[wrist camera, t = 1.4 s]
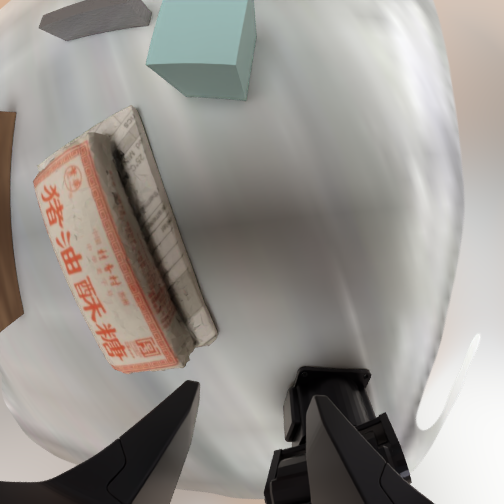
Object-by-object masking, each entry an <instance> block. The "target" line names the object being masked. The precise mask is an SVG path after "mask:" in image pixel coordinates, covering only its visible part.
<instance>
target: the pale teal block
mask: <svg viewBox="0 0 504 504" xmlns="http://www.w3.org/2000/svg"><path fill="white" fill-rule="evenodd" d="M255 42H256V23H255V10H254V0H163V2H162V5H161V8H160V11H159V14H158V18H157V21H156V25H155V28H154V32H153V36H152V40H151V44H150V48H149V52H148V56H147V61H146V65H147V66H148V67H149V68H151V69H152V70H153V71H154V72H156V73H157V74H158V75H160V76H161V77H162V78H163V79H165V80H166V81H167V82H168V83H170V84H171V85H172V86H173V87H174V88H176V89H177V90H178V91H179V92H181V93H182V94H183V95H184V96H185V97H203V98H219V99H232V100H242V101H246V99H247V93H248V86H249V79H250V73H251V67H252V61H253V54H254V48H255Z"/></svg>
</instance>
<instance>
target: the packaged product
mask: <svg viewBox="0 0 504 504" xmlns="http://www.w3.org/2000/svg"><path fill="white" fill-rule="evenodd" d="M37 167H38V170H39V173H38V174H37V176H36V178H35V179H34V181H33V182H34V187H35V192H36V196H37V199H38V203H39V207H40V210H41V213H42V217H43V220H44V223H45V226H46V229H47V232H48V235H49V238H50V240H51V243H52V246H53V248H54V251H55V254H56V256H57V259H58V262H59V264H60V266H61V269H62V271H63V273H64V276H65V278H66V281H67V283H68V285H69V287H70V289H71V292H72V294H73V296H74V298H75V301H76V303H77V305H78V307H79V308H80V311H81V313H82V315H83V317H84V319H85V321H86V322H87V324H88V326H89V328H90V330H91V332H92V334H93V336H94V337H95V340H96V342H97V343H98V345H99V347H100V349H101V350H102V352H103V354H104V356H105V358H106V359H107V361H108V363H109V364H110V365H111V366H112V367H113V368H114V369H115V370H118V371H122V372H123V373H125V374H131V373H133V372H142V371H153V372H154V371H159V370H162V371H164V370H166V369H173V368H184V367H185V366H186V363H187V362H188V361H189V360H190V359H189V355H190V354H191V353H192V352H193V350H194V348H196V347H201V346H206V345H207V346H209V345H210V344H211V343H213V342H214V341H215V340H216V338H217V336H218V332H217V330H216V328H215V325H214V323H213V321H212V318H211V316H210V314H209V312H208V309H207V307H206V305H205V303H204V300H203V297H202V294H201V292H200V289H199V286H198V283H197V280H196V277H195V274H194V271H193V268H192V265H191V263H190V260H189V258H188V255H187V252H186V250H185V247H184V244H183V241H182V238H181V235H180V233H179V230H178V227H177V224H176V220H175V217H174V215H173V212H172V209H171V206H170V203H169V200H168V197H167V194H166V192H165V189H164V186H163V183H162V180H161V177H160V174H159V171H158V168H157V165H156V163H155V160H154V157H153V154H152V151H151V148H150V145H149V142H148V139H147V136H146V133H145V130H144V127H143V124H142V121H141V118H140V116H139V114H138V111H137V110H136V109H135V108H134V107H133V106H132V105H131V106H129V107H127V108H125V109H123V110H121V111H119V112H117V113H115V114H114V115H112V116H110V117H109V118H107V119H106V120H104V121H102V122H100V123H98V124H97V125H95V126H94V127H92V128H91V129H89V130H88V131H86V132H85V133H83V134H82V135H81V136H79V137H77V138H76V139H74V140H72V141H71V142H69V143H68V144H67V145H65V146H64V147H62V148H60V149H59V150H58V151H56V152H55V153H53V154H52V155H51V156H49V157H48V158H47V159H46V160H45V161H44V162H42V163H41V164H39V165H38V166H37Z"/></svg>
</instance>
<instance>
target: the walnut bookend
mask: <svg viewBox="0 0 504 504" xmlns="http://www.w3.org/2000/svg"><path fill="white" fill-rule="evenodd" d="M15 117H16V113H15V112H3V111H0V332H1V331H2V330H4V329H5V328H6V327H7V326H9V325H10V324H11V323H12V322H14V321H15V320H16V319H18V318H19V317H20V316H21V315H23V314H24V311H23V307H22V302H21V297H20V292H19V287H18V281H17V275H16V268H15V261H14V253H13V244H12V232H11V215H10V169H11V153H12V141H13V132H14V124H15Z"/></svg>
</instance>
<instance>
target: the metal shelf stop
mask: <svg viewBox="0 0 504 504" xmlns="http://www.w3.org/2000/svg"><path fill="white" fill-rule="evenodd" d="M151 15H152V12H151V11H150V10H149V9H148V8H147V7H146V5H145V4H144V3H143V2H142V1H141V0H85V1H82V2H79V3H76V4H73V5H70V6H67V7H64V8H61V9H59V10H56V11H53V12H51V13H48V14H46V15H43V17H42V20H41V23H40V25H39V29H42V30H44V31H46V32H48V33H50V34H52V35H55V36H57V37H59V38H61V39H63V40H65V41H69V40H73V39H76V38H80V37H84V36H89V35H93V34H98V33H102V32H108V31H113V30H119V29H125V28H132V27H139V26H147V25H149V21H150V18H151Z"/></svg>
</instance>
